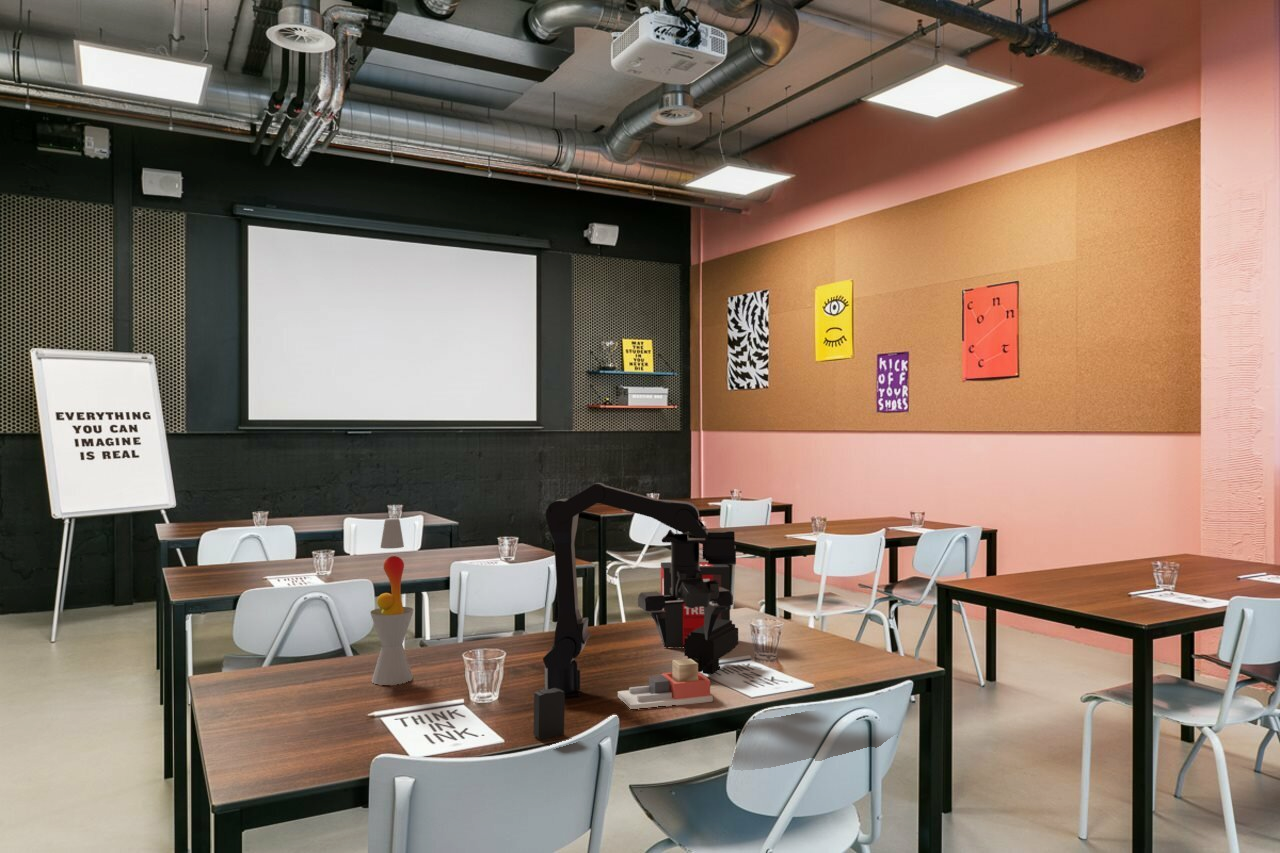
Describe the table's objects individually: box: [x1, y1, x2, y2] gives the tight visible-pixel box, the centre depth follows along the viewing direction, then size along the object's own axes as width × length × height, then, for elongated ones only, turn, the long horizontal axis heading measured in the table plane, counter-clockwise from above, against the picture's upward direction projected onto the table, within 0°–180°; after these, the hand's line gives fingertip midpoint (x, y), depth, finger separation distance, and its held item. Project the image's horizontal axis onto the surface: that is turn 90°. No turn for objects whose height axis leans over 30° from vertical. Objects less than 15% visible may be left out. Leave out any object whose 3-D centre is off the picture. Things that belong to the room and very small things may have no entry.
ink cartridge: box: [533, 688, 566, 741], centre depth 145 cm, size 5×2×8 cm, turn 121°
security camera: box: [683, 619, 739, 675], centre depth 184 cm, size 7×18×10 cm, turn 152°
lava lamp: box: [370, 517, 415, 686], centre depth 179 cm, size 9×9×35 cm
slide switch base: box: [617, 672, 714, 710], centre depth 165 cm, size 17×9×4 cm, turn 107°
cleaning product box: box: [660, 561, 731, 648], centre depth 210 cm, size 16×9×20 cm, turn 94°
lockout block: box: [671, 658, 698, 682], centre depth 166 cm, size 4×4×6 cm
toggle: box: [648, 675, 670, 694], centre depth 165 cm, size 3×4×3 cm
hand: (686, 641), depth 166 cm, fingers open, 9 cm apart
